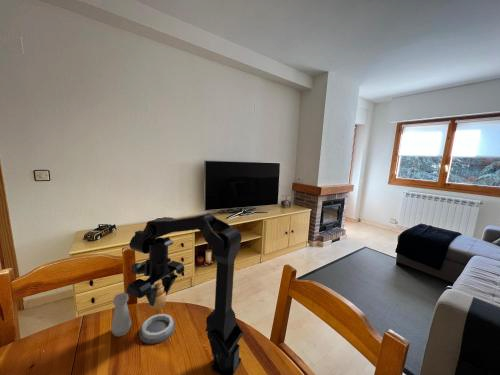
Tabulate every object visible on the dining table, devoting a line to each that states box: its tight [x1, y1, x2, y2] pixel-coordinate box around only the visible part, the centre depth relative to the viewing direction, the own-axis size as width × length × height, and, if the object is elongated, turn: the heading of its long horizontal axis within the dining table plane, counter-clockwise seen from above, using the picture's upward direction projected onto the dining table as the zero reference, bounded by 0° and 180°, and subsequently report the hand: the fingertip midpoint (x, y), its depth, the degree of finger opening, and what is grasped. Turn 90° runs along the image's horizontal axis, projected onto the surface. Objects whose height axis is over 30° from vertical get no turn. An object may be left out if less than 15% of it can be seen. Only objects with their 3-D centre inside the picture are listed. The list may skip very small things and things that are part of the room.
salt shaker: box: [110, 292, 132, 338], centre depth 70 cm, size 6×6×13 cm
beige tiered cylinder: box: [149, 282, 167, 310], centre depth 71 cm, size 5×5×7 cm
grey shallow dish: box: [139, 313, 176, 345], centre depth 72 cm, size 11×11×2 cm
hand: (158, 301), depth 71 cm, fingers closed on beige tiered cylinder, 5 cm apart
